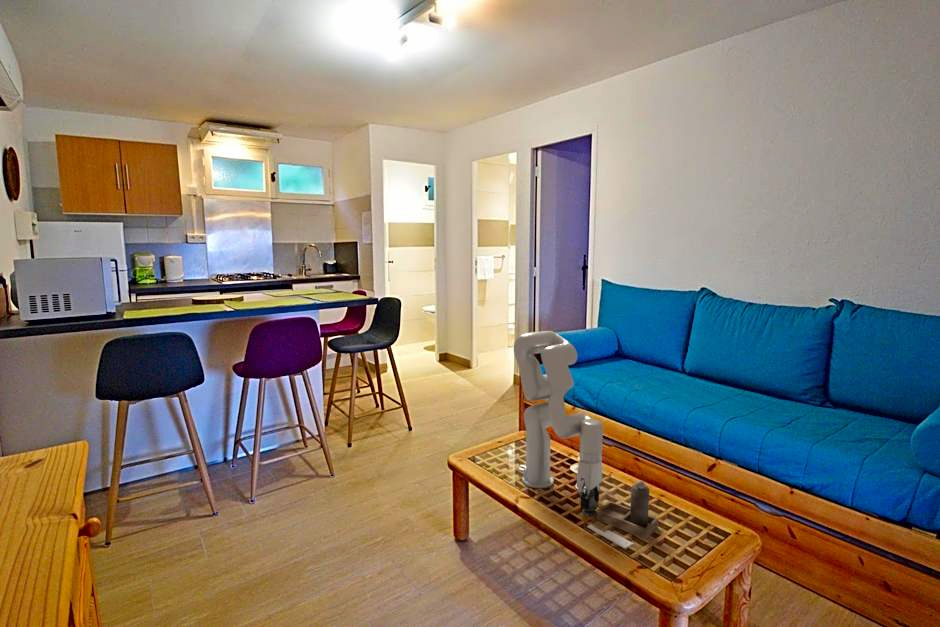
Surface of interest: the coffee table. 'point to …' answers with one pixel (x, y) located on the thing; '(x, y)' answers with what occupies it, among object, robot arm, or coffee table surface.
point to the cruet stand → (631, 513)
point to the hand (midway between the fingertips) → (589, 504)
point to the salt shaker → (591, 505)
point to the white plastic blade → (612, 537)
